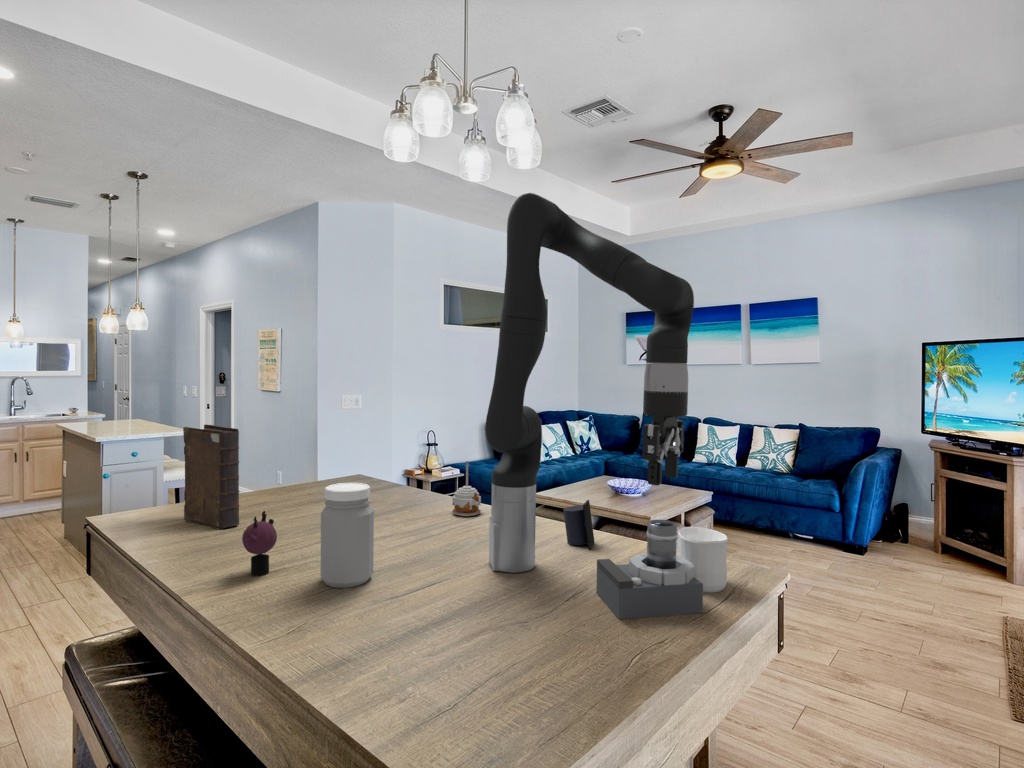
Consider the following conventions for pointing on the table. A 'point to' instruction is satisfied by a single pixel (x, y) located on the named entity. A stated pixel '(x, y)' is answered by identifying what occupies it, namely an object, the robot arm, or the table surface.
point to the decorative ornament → (466, 500)
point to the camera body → (648, 588)
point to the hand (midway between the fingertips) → (662, 480)
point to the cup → (705, 555)
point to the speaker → (579, 525)
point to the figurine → (259, 544)
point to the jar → (347, 535)
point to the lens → (661, 544)
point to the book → (211, 476)
